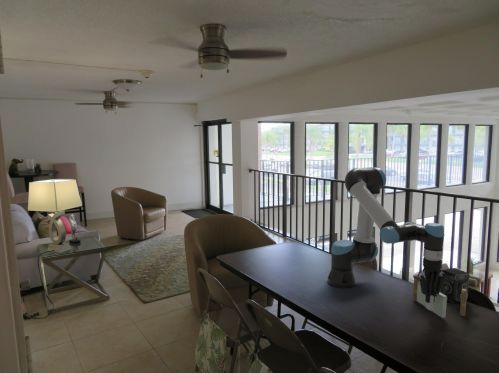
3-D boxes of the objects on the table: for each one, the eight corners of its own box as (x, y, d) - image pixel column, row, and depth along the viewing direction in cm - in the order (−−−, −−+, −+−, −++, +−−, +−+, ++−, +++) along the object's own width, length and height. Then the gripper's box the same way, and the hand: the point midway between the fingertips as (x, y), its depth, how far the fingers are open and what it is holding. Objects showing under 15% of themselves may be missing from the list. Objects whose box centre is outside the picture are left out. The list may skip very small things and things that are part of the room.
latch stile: (459, 315, 159) (461, 289, 157) (461, 313, 160) (463, 288, 159) (464, 316, 157) (466, 291, 156) (465, 314, 159) (467, 289, 158)
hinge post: (410, 300, 173) (412, 276, 171) (413, 298, 175) (414, 274, 174) (417, 302, 171) (418, 277, 169) (419, 300, 173) (421, 276, 171)
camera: (455, 306, 167) (457, 276, 165) (438, 297, 177) (439, 268, 175) (472, 303, 169) (475, 274, 167) (454, 294, 179) (456, 266, 178)
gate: (416, 300, 171) (417, 281, 169) (419, 300, 171) (420, 281, 170) (442, 317, 154) (443, 296, 153) (445, 317, 154) (447, 296, 153)
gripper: (426, 262, 149) (422, 314, 152) (451, 259, 152) (447, 311, 155) (414, 256, 156) (411, 306, 159) (438, 254, 159) (435, 303, 162)
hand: (429, 309), depth 157 cm, fingers closed
